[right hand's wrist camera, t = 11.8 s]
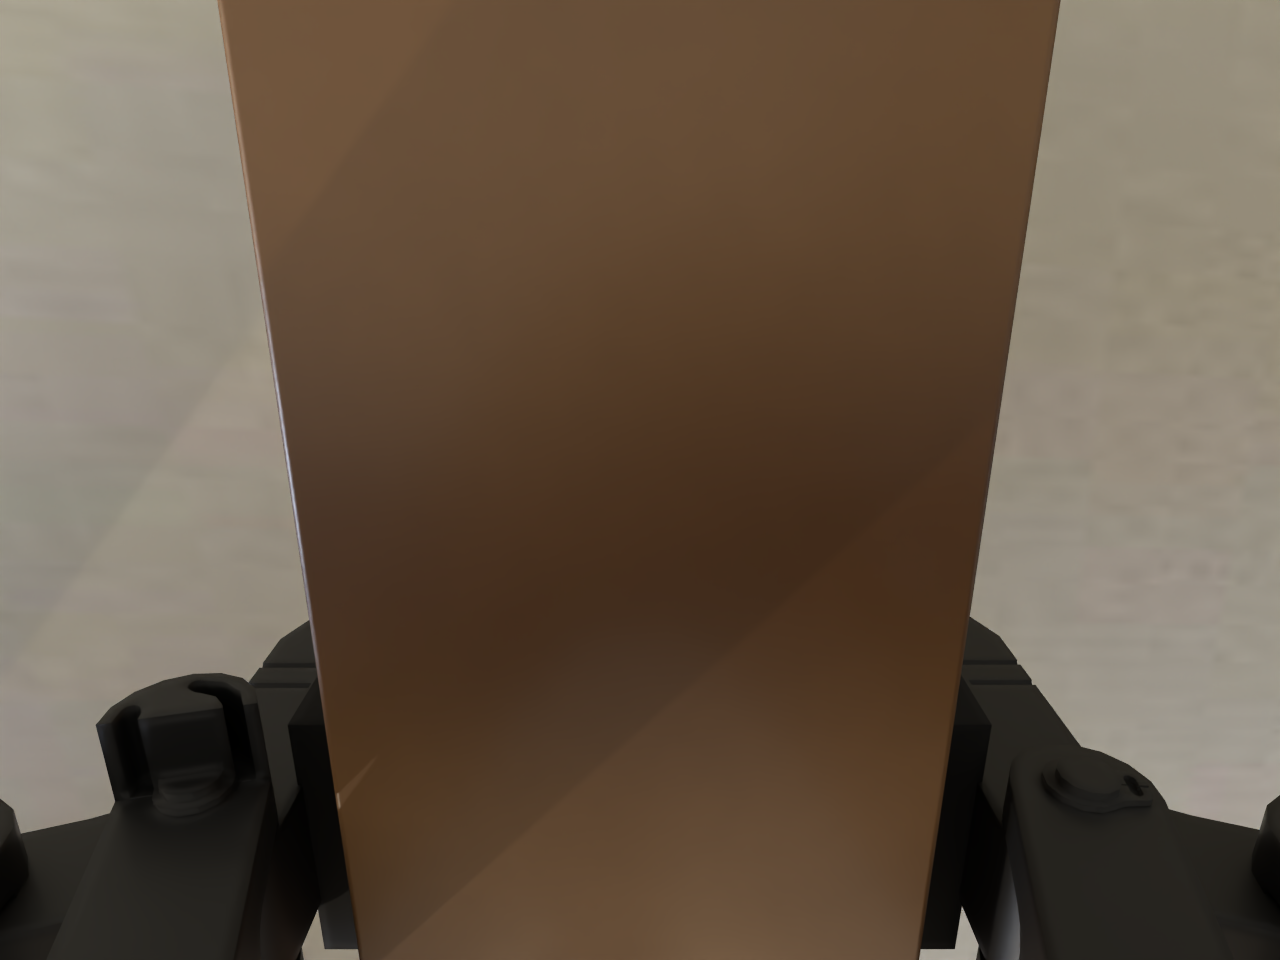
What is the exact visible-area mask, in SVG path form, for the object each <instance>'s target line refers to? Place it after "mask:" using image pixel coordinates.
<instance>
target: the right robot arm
mask: <svg viewBox="0 0 1280 960" xmlns="http://www.w3.org/2000/svg"><path fill="white" fill-rule="evenodd" d="M96 728H97V732H98V736H99V740H100V744H101V747H102V751H103V755H104V759H105V763H106V767H107V771H108V775H109V779H110V783H111V786H112V790H113V794H114V798H115V803H114V806H113V808H112V810H111V813H110V814H106V815H102V816H99V817H95V818H92V819H88V820H83V821H78V822H74V823H69V824H64V825H60V826H55V827H50V828H46V829H41V830H36V831H31V832H27V833H22V834H21V833H20V830H19V826H18V823H17V820H16V817H15V813H14V810H13V809H12V808H11V807H10V806H8V805H7V804H6V803H5V802H4V801H2V800H1V799H0V960H304V958H303V952H302V945H303V943H304V940H305V938H306V936H307V933H308V931H309V929H310V926H311V924H312V921H313V919H314V917H315V914H316V912H317V910H318V911H319V917H320V923H321V930H322V936H323V942H324V948H325V949H358V945H357V938H356V932H355V925H354V918H353V911H352V905H351V898H350V891H349V884H348V878H347V871H346V864H345V857H344V851H343V844H342V837H341V830H340V824H339V817H338V810H337V803H336V797H335V790H334V783H333V776H332V770H331V763H330V756H329V749H328V743H327V736H326V729H325V722H324V716H323V709H322V702H321V695H320V689H319V682H318V675H317V668H316V662H315V655H314V648H313V642H312V635H311V628H310V621H307V622H306V623H304V624H303V625H301V626H300V627H298V628H297V629H295V630H294V631H292V632H291V633H289V634H288V635H286V636H285V637H283V638H282V639H280V641H279V642H278V643H277V645H276V646H275V647H274V649H273V650H272V651H271V653H270V654H269V656H268V657H267V658H266V660H265V661H264V662H263V668H259V669H258V671H257V672H256V673H255V675H254V676H253V677H252V679H251V680H250V681H249V683H248V682H247V681H246V680H244V679H243V678H240V677H236V676H231V675H227V674H223V673H209V674H191V675H187V676H182V677H177V678H173V679H168V680H164V681H161V682H159V683H156V684H154V685H151V686H149V687H146V688H144V689H141V690H139V691H136V692H134V693H132V694H131V695H129V696H128V697H126V698H125V699H123V700H122V701H120V702H119V703H117V704H115V705H114V706H112V707H111V708H110V709H109V710H108V711H107V712H106V714H105V715H104V716H103V717H102V718H101V719H100V721H99V722H98V723H97V724H96ZM962 907H963V909H964V911H965V914H966V916H967V918H968V921H969V923H970V925H971V928H972V930H973V932H974V935H975V937H976V940H977V942H978V944H979V947H978V952H977V958H976V960H1280V795H1279V796H1278V797H1277V798H1276V799H1274V800H1273V801H1272V802H1271V803H1269V804H1268V805H1267V808H1266V811H1265V814H1264V817H1263V821H1262V824H1261V827H1260V830H1257V829H1253V828H1248V827H1243V826H1238V825H1234V824H1229V823H1224V822H1220V821H1215V820H1210V819H1205V818H1201V817H1196V816H1191V815H1188V814H1184V813H1180V812H1177V811H1173V810H1170V809H1168V806H1167V804H1166V802H1165V800H1164V799H1163V797H1162V796H1161V794H1160V793H1159V792H1158V790H1157V789H1156V788H1155V786H1154V785H1153V783H1152V782H1151V781H1150V780H1148V779H1147V778H1146V777H1144V776H1143V775H1142V774H1140V773H1139V772H1138V771H1136V770H1135V769H1134V768H1132V767H1131V766H1130V765H1128V764H1126V763H1124V762H1122V761H1120V760H1117V759H1115V758H1113V757H1111V756H1109V755H1107V754H1104V753H1102V752H1100V751H1095V750H1091V749H1087V748H1083V747H1081V746H1080V745H1079V743H1078V742H1077V741H1076V739H1075V738H1074V737H1073V735H1072V734H1071V733H1070V731H1069V730H1068V728H1067V727H1066V726H1065V724H1064V723H1063V722H1062V720H1061V719H1060V718H1059V716H1058V715H1057V714H1056V712H1055V711H1054V709H1053V708H1052V707H1051V705H1050V704H1049V703H1048V701H1047V700H1046V699H1045V697H1044V696H1043V695H1042V693H1041V692H1040V691H1039V689H1038V688H1037V686H1036V685H1032V680H1031V678H1030V677H1029V676H1028V674H1027V673H1026V672H1025V670H1024V669H1023V668H1022V666H1021V665H1017V659H1016V658H1015V657H1014V655H1013V654H1012V653H1011V651H1010V650H1009V649H1008V647H1007V646H1006V645H1005V643H1004V642H1003V640H1002V639H1001V638H1000V636H998V635H997V634H995V633H994V632H992V631H991V630H989V629H988V628H986V627H985V626H983V625H982V624H980V623H979V622H977V621H976V620H974V619H973V618H971V617H969V624H968V630H967V637H966V644H965V651H964V658H963V664H962V671H961V678H960V685H959V691H958V698H957V705H956V712H955V719H954V725H953V732H952V739H951V746H950V752H949V759H948V766H947V773H946V780H945V786H944V793H943V800H942V807H941V813H940V820H939V827H938V834H937V841H936V847H935V854H934V861H933V868H932V874H931V881H930V888H929V895H928V902H927V908H926V915H925V922H924V929H923V935H922V942H921V949H955V944H956V938H957V932H958V926H959V920H960V914H961V908H962Z"/></svg>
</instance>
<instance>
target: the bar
mask: <svg viewBox="0 0 1280 960" xmlns="http://www.w3.org/2000/svg"><path fill="white" fill-rule="evenodd" d="M217 1H218V7H219V14H220V21H221V27H222V34H223V41H224V48H225V54H226V61H227V68H228V75H229V81H230V88H231V95H232V102H233V108H234V115H235V122H236V129H237V135H238V142H239V149H240V156H241V162H242V169H243V176H244V183H245V189H246V196H247V203H248V210H249V216H250V223H251V230H252V237H253V243H254V250H255V257H256V264H257V270H258V277H259V284H260V291H261V297H262V304H263V311H264V318H265V324H266V331H267V338H268V345H269V351H270V358H271V365H272V372H273V378H274V385H275V392H276V399H277V405H278V412H279V419H280V426H281V432H282V439H283V446H284V453H285V459H286V466H287V473H288V480H289V486H290V493H291V500H292V507H293V513H294V520H295V527H296V534H297V540H298V547H299V554H300V561H301V567H302V574H303V581H304V588H305V594H306V601H307V608H308V615H309V621H310V628H311V635H312V642H313V648H314V655H315V662H316V668H317V675H318V682H319V689H320V695H321V702H322V709H323V716H324V722H325V729H326V736H327V743H328V749H329V756H330V763H331V770H332V776H333V783H334V790H335V797H336V803H337V810H338V817H339V824H340V830H341V837H342V844H343V851H344V857H345V864H346V871H347V878H348V884H349V891H350V898H351V905H352V911H353V918H354V925H355V932H356V938H357V945H358V952H359V959H360V960H919V956H920V949H921V942H922V935H923V929H924V922H925V915H926V908H927V902H928V895H929V888H930V881H931V874H932V868H933V861H934V854H935V847H936V841H937V834H938V827H939V820H940V813H941V807H942V800H943V793H944V786H945V780H946V773H947V766H948V759H949V752H950V746H951V739H952V732H953V725H954V719H955V712H956V705H957V698H958V691H959V685H960V678H961V671H962V664H963V658H964V651H965V644H966V637H967V630H968V624H969V617H970V610H971V603H972V597H973V590H974V583H975V576H976V569H977V563H978V556H979V549H980V542H981V536H982V529H983V522H984V515H985V508H986V502H987V495H988V488H989V481H990V475H991V468H992V461H993V454H994V447H995V441H996V434H997V427H998V420H999V414H1000V407H1001V400H1002V393H1003V386H1004V380H1005V373H1006V366H1007V359H1008V353H1009V346H1010V339H1011V332H1012V326H1013V319H1014V312H1015V305H1016V298H1017V292H1018V285H1019V278H1020V271H1021V265H1022V258H1023V251H1024V244H1025V237H1026V231H1027V224H1028V217H1029V210H1030V204H1031V197H1032V190H1033V183H1034V176H1035V170H1036V163H1037V156H1038V149H1039V143H1040V136H1041V129H1042V122H1043V115H1044V109H1045V102H1046V95H1047V88H1048V82H1049V75H1050V68H1051V61H1052V54H1053V48H1054V41H1055V34H1056V27H1057V21H1058V14H1059V7H1060V0H217Z"/></svg>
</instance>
